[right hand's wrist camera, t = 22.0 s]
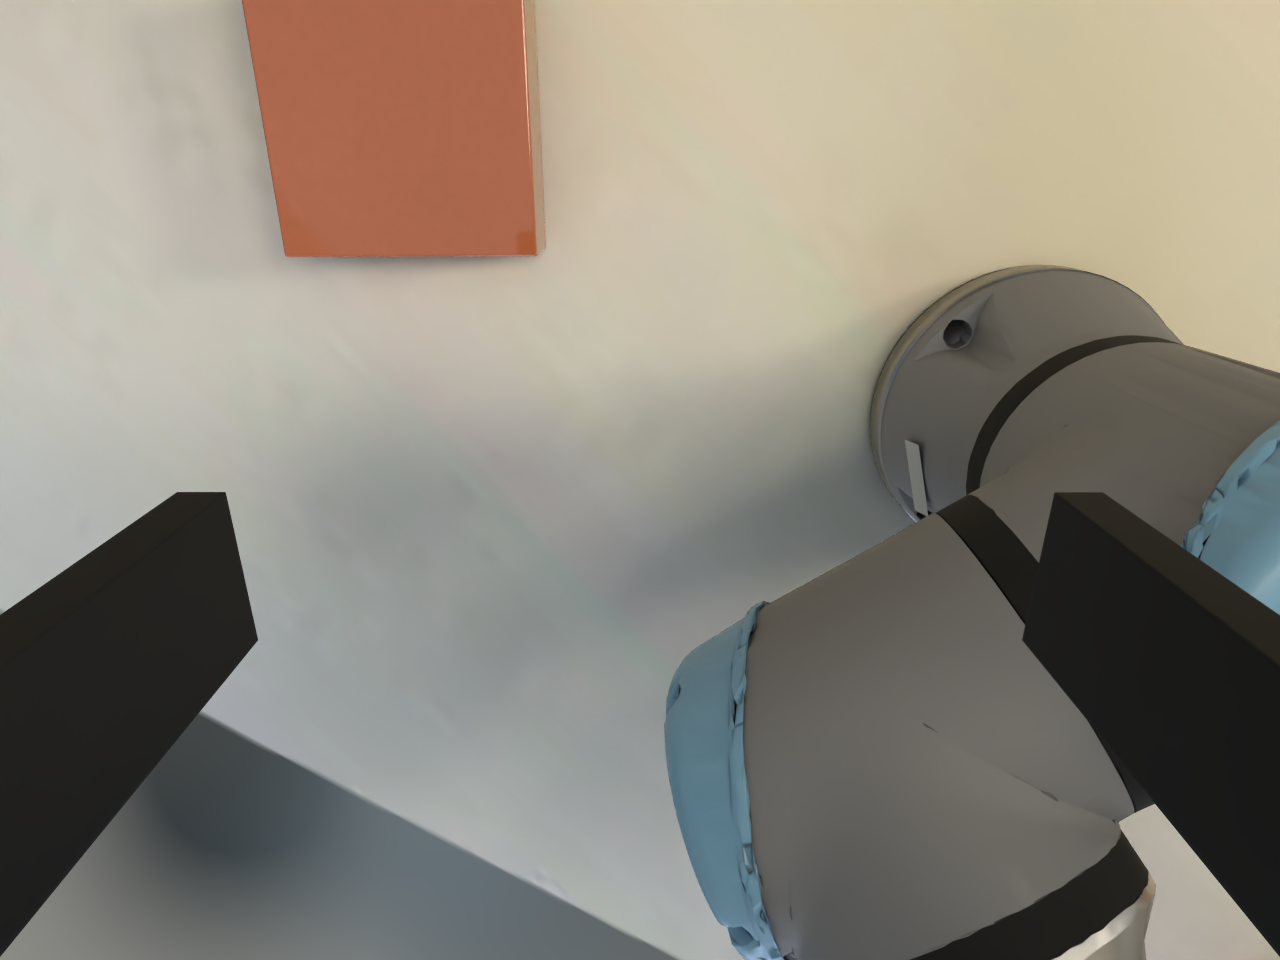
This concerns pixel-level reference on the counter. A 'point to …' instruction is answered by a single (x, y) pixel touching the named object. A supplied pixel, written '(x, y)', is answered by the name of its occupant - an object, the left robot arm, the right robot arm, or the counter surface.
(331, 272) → the counter surface
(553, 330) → the counter surface
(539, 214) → the orange square block
